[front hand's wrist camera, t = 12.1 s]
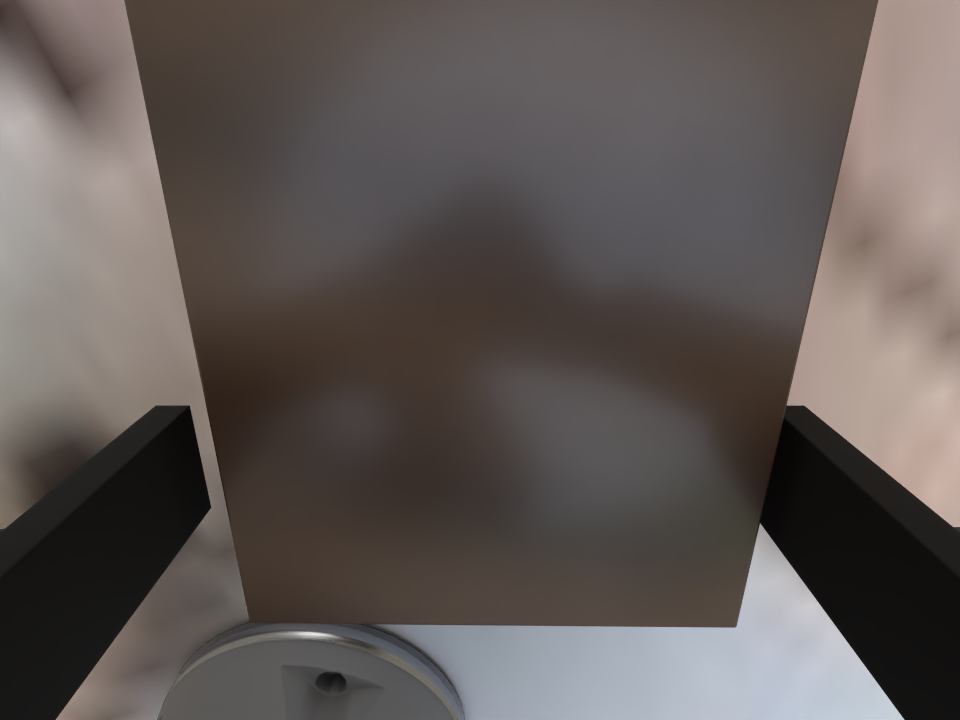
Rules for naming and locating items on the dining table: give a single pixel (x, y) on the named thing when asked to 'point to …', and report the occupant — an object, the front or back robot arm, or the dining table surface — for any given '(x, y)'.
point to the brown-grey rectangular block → (498, 290)
